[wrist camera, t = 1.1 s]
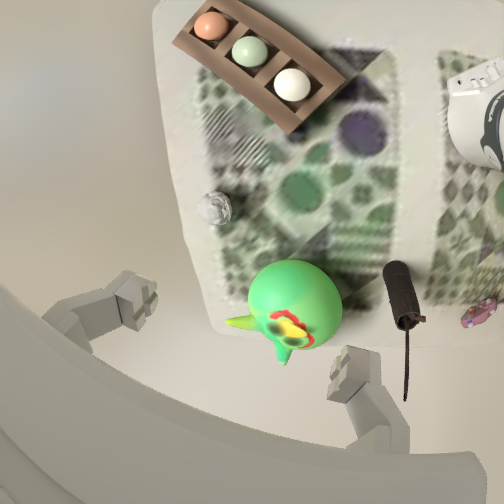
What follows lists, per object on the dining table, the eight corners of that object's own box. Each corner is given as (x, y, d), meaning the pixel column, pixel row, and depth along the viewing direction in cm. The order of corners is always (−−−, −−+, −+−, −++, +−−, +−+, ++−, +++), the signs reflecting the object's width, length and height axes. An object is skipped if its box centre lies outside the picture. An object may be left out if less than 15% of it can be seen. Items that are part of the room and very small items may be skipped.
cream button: (292, 64, 32) (290, 61, 30) (317, 86, 32) (316, 84, 30) (270, 86, 34) (267, 85, 32) (295, 108, 35) (293, 108, 33)
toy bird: (358, 295, 52) (359, 351, 39) (295, 327, 61) (282, 379, 48) (302, 229, 48) (288, 276, 36) (240, 274, 57) (213, 322, 45)
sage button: (251, 34, 30) (246, 30, 28) (276, 51, 31) (272, 48, 29) (231, 56, 33) (225, 54, 31) (254, 74, 34) (249, 72, 32)
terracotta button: (214, 11, 29) (207, 7, 27) (236, 24, 30) (230, 20, 28) (195, 32, 32) (188, 29, 30) (216, 46, 32) (209, 43, 30)
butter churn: (427, 249, 42) (475, 375, 19) (415, 291, 47) (441, 415, 24) (382, 245, 45) (405, 378, 22) (374, 288, 50) (380, 418, 27)
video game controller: (489, 289, 43) (497, 297, 37) (495, 306, 42) (503, 316, 36) (456, 310, 48) (460, 321, 42) (462, 326, 47) (466, 338, 41)
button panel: (227, -3, 30) (216, -11, 26) (344, 82, 34) (346, 79, 30) (184, 46, 36) (171, 43, 33) (292, 132, 40) (288, 135, 36)
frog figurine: (243, 216, 50) (230, 232, 44) (209, 217, 52) (193, 232, 47) (238, 184, 47) (224, 197, 42) (203, 187, 49) (185, 199, 44)
